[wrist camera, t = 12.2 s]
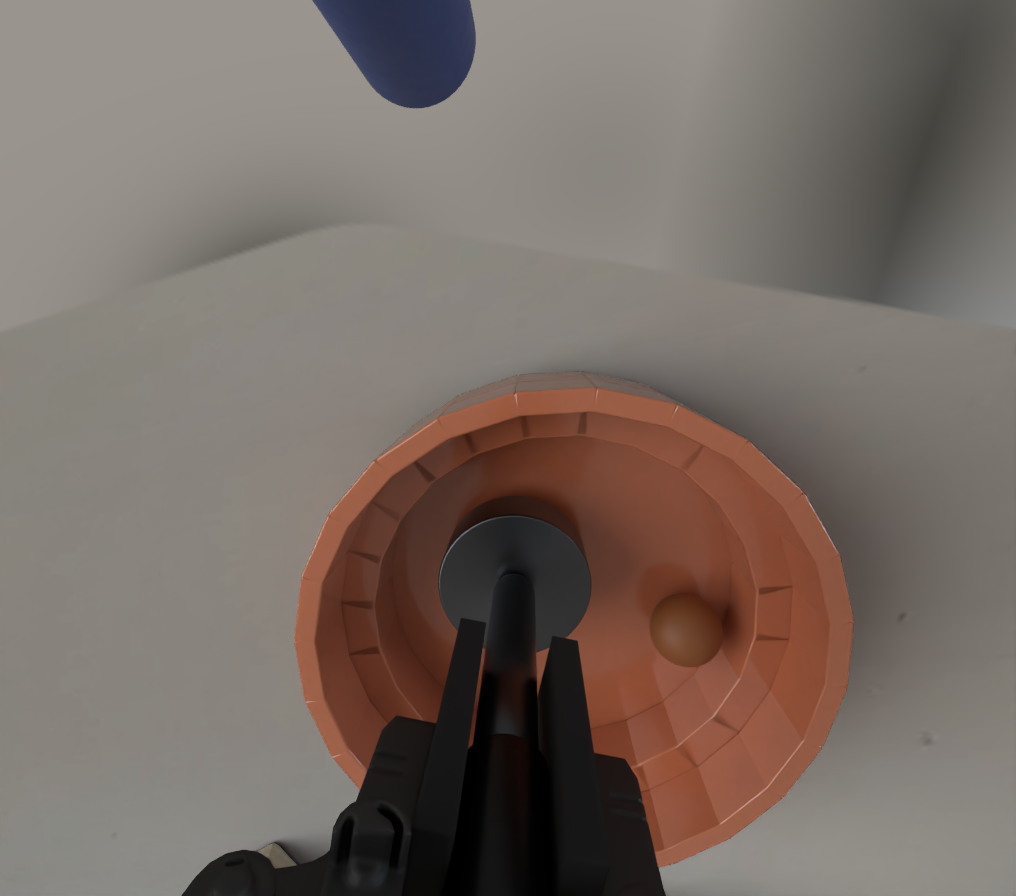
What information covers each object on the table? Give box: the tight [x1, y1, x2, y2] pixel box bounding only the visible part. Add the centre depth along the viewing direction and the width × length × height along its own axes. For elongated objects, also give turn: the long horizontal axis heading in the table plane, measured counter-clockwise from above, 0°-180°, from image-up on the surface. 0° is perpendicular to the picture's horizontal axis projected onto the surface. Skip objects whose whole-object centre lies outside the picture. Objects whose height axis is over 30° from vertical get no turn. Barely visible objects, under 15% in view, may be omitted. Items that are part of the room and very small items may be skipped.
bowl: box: [294, 371, 854, 867], centre depth 22 cm, size 20×20×6 cm
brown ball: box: [649, 594, 723, 667], centre depth 23 cm, size 3×3×3 cm
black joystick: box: [438, 496, 592, 896], centre depth 15 cm, size 6×6×17 cm
